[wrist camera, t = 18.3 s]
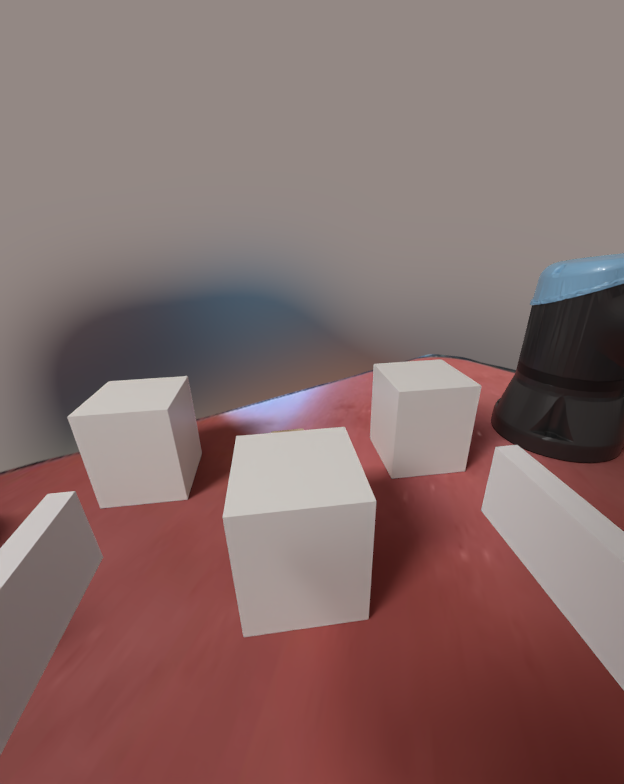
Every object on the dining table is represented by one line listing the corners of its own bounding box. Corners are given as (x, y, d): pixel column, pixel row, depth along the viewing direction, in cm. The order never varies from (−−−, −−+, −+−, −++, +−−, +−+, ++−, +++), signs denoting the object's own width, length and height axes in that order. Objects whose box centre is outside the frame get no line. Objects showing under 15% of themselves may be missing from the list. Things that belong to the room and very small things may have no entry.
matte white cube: (431, 432, 48) (441, 359, 43) (464, 471, 40) (481, 385, 35) (370, 438, 47) (373, 364, 43) (391, 478, 39) (399, 392, 34)
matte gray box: (202, 453, 45) (187, 376, 40) (187, 499, 36) (167, 409, 32) (131, 459, 44) (108, 381, 39) (100, 508, 36) (67, 417, 31)
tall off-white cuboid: (343, 525, 33) (344, 426, 28) (368, 619, 24) (376, 501, 20) (249, 536, 32) (236, 435, 27) (243, 637, 23) (222, 517, 19)
